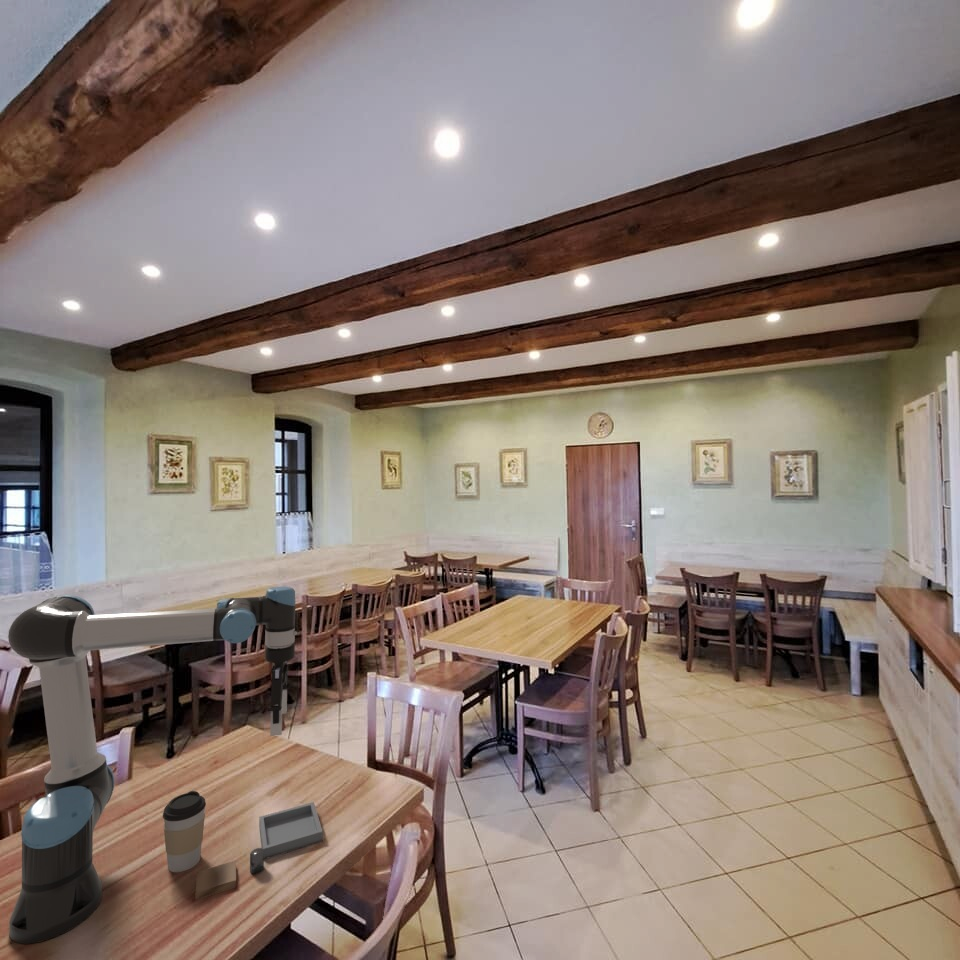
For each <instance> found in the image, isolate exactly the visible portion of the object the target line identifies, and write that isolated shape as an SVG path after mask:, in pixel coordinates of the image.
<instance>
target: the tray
mask: <svg viewBox="0 0 960 960" xmlns="http://www.w3.org/2000/svg"><path fill="white" fill-rule="evenodd" d="M258 818H259V819H258V820H259V821H258V822H259V823H258V827H259V835H260V836H259V837H260V844H261V848H262V849H264V860H266V859H270V858H273V857H276V856H279V855H283V854H286V853H289V852H291V851H296V850H299V849H302V848H305V847H308V846H312V845H315V844H318V843H322V842H323V839H324V838H323V836H324V835H323V829H322V826H321V822H320V819H319V814H318V812H317V809H316V805H315V802H314V801H312V802H309V803H305V804H302V805H299V806H293V807H291V808H287V809H284V810H279V811H277V812H272V813H268V814H265V815H264V814H263V815H260V816H259V817H258Z"/></svg>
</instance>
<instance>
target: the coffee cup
mask: <svg viewBox="0 0 960 960" xmlns="http://www.w3.org/2000/svg"><path fill="white" fill-rule="evenodd" d="M206 805H207V804H206V798H205V797H203V796H202V795H201V794H199V792H198V791H196V790H192V791H189V792H187V793H183V794H179V795H178V796H175V797H174V798H172V799H171V800H170V801H169V802H168V804H166V806H165V807H164V809H163V813H162V818H163V823H164V824H163V831H164V833H163V834H164V844H165V852H166V861H167V869H168V871H169V872H171V873H181V872H185V871H188V870H190V869H192V868H193V867H195V866H196V865H198V863H199V862H200V861H201V856H202V855H201V854H202V843H203V839H204V830H205V829H204V827H205V818H206V815H205V814H206V813H205V808H206Z"/></svg>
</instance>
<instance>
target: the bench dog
mask: <svg viewBox="0 0 960 960" xmlns="http://www.w3.org/2000/svg"><path fill="white" fill-rule="evenodd" d="M264 869H265V859H264V849H262V847H257V848H254V849H253V850H251V852H250V853H249V873H250V874H251V875H258V874H260V873H262V872H263V871H264Z"/></svg>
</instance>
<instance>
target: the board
mask: <svg viewBox="0 0 960 960" xmlns="http://www.w3.org/2000/svg"><path fill="white" fill-rule="evenodd" d="M196 872H197V873H196V885H195V901H196V900H199V899H200V900H201V899H202V898H205V897H206V898H207V897H210V896H212V895H215V894H218V893H221V892H225V891H228V890H231V889H234V888H236V887H237V862H236V860H233V861H229V862H226V863H222V864H219V865H216V866H212V867H209V868H205V869H201V870H198V871H196Z"/></svg>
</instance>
